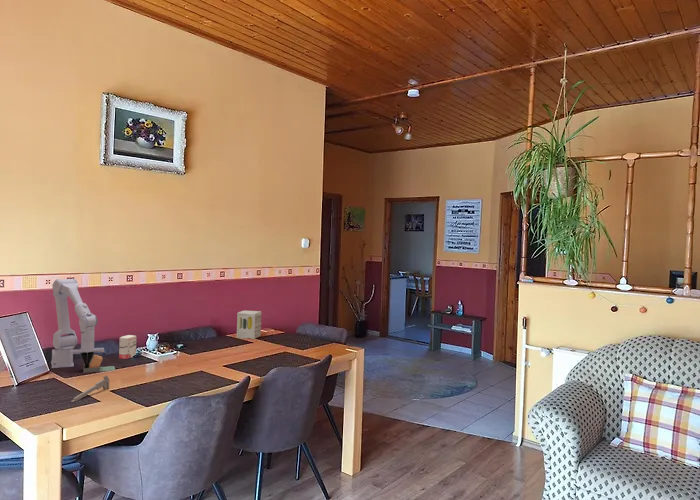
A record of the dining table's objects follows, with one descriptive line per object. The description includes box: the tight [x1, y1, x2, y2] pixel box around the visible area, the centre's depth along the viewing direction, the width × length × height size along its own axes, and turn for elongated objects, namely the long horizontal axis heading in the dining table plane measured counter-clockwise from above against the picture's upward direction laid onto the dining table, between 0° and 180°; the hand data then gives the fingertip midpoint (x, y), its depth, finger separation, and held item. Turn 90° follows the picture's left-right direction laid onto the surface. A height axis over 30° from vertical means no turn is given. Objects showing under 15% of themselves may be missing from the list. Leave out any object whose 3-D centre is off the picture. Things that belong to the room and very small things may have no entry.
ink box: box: [118, 334, 137, 360], centre depth 270 cm, size 9×5×12 cm, turn 168°
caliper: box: [70, 374, 110, 403], centre depth 205 cm, size 20×1×6 cm, turn 167°
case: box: [82, 363, 101, 374], centre depth 244 cm, size 7×15×2 cm, turn 30°
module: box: [89, 354, 103, 368], centre depth 242 cm, size 4×6×6 cm, turn 29°
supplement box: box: [236, 310, 262, 340], centre depth 342 cm, size 13×13×18 cm
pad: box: [99, 365, 116, 372], centre depth 245 cm, size 7×9×1 cm
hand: (86, 367), depth 240 cm, fingers closed
